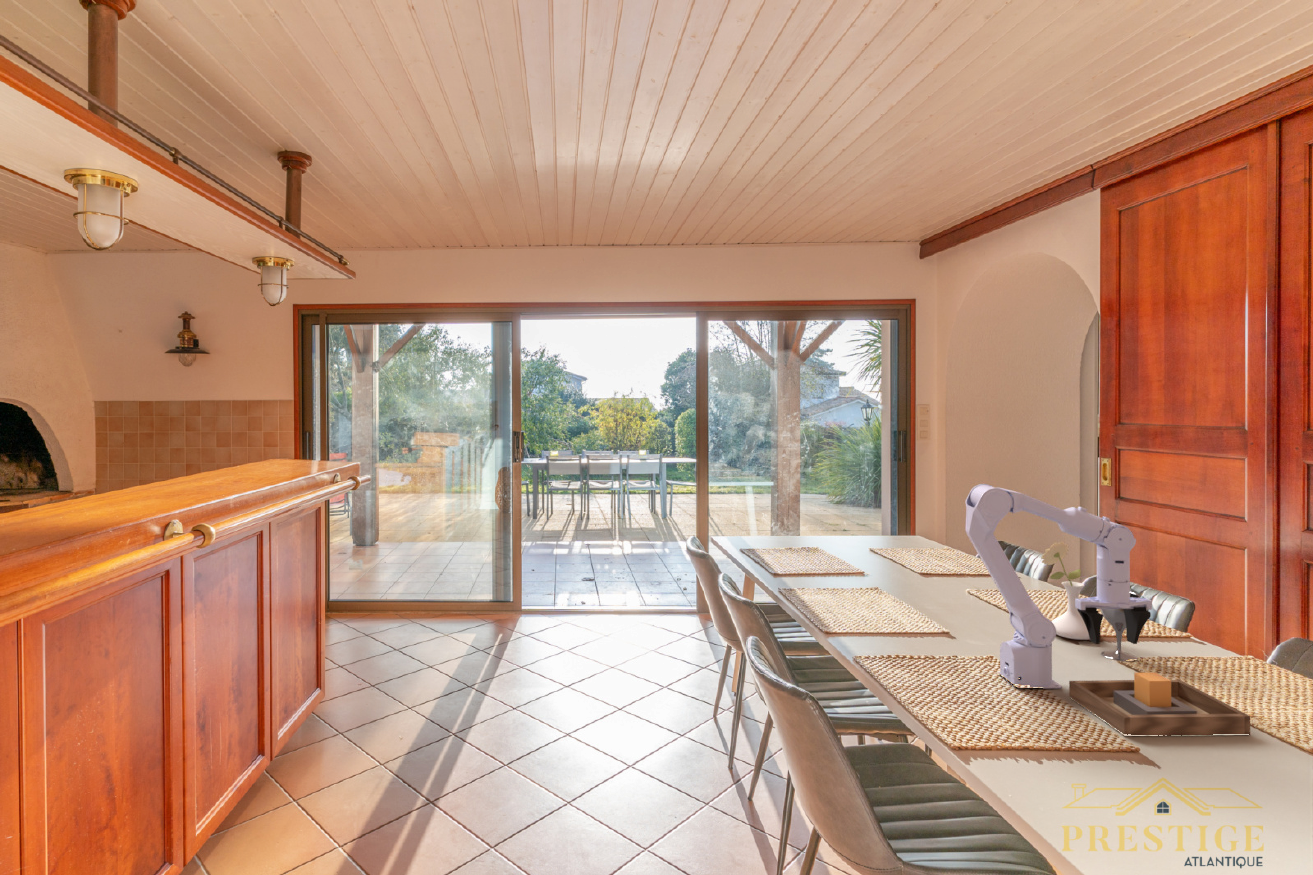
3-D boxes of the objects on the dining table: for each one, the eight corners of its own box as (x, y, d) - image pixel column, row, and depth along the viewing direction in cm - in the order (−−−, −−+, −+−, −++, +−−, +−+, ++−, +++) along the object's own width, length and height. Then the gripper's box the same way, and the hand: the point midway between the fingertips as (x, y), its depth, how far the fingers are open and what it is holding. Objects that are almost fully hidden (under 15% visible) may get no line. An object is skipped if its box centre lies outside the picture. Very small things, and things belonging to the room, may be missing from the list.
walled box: (1124, 736, 114) (1124, 717, 114) (1069, 697, 130) (1069, 680, 130) (1250, 735, 113) (1250, 716, 113) (1179, 696, 129) (1179, 679, 129)
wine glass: (1122, 664, 146) (1122, 599, 146) (1090, 652, 154) (1090, 591, 153) (1148, 659, 148) (1148, 596, 148) (1115, 648, 156) (1115, 588, 155)
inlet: (1147, 724, 117) (1146, 711, 117) (1113, 703, 126) (1113, 690, 126) (1196, 724, 117) (1196, 710, 117) (1159, 702, 126) (1159, 690, 126)
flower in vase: (1083, 629, 170) (1083, 536, 169) (1110, 644, 159) (1109, 545, 158) (1032, 628, 171) (1031, 537, 171) (1055, 643, 160) (1054, 545, 159)
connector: (1149, 717, 120) (1149, 681, 120) (1134, 708, 124) (1134, 672, 123) (1171, 717, 120) (1171, 680, 119) (1155, 707, 124) (1155, 672, 123)
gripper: (1089, 584, 130) (1089, 649, 131) (1162, 583, 130) (1162, 649, 130) (1069, 575, 137) (1069, 637, 138) (1138, 575, 137) (1138, 637, 137)
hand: (1113, 642), depth 134 cm, fingers open, 7 cm apart
